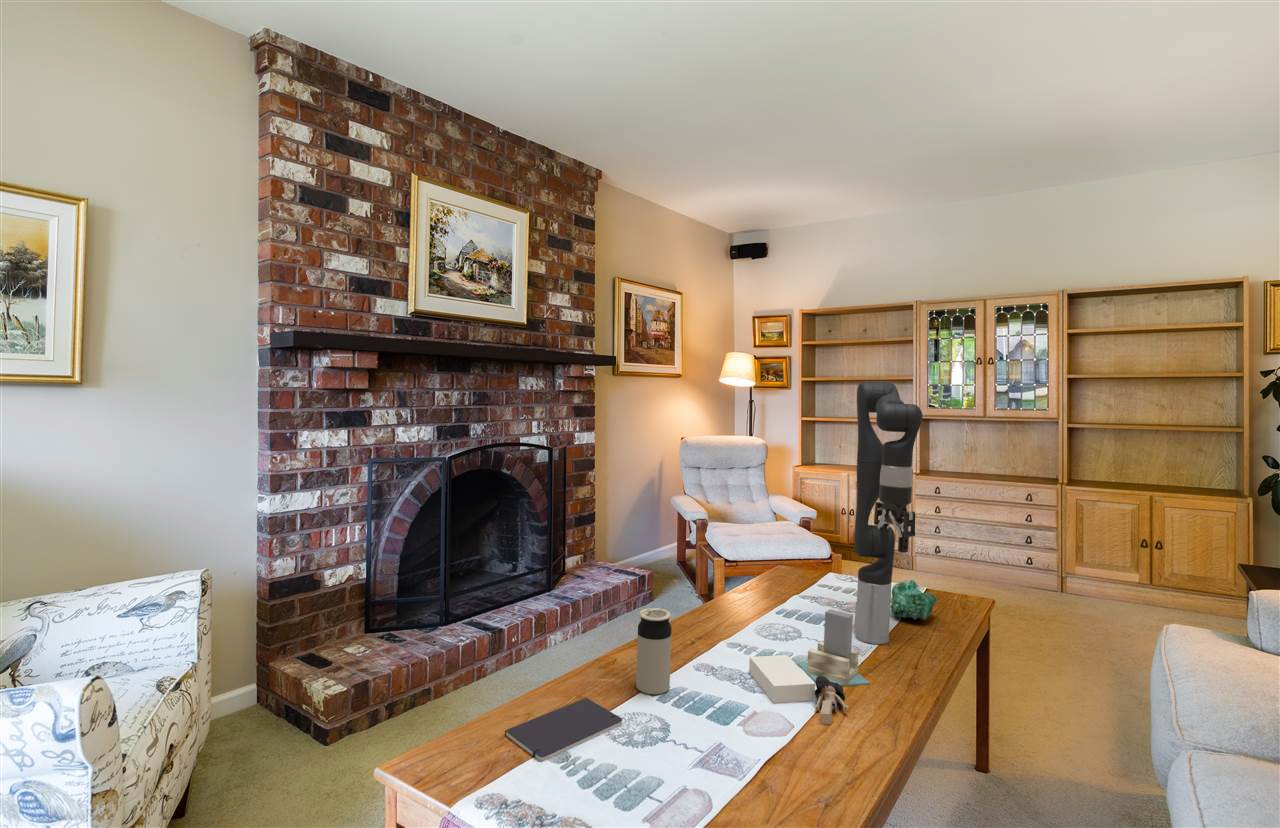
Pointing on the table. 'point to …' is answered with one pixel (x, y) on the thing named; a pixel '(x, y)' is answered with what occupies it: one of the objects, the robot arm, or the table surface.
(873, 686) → the table surface
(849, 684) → the mat
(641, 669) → the travel mug
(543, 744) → the notebook
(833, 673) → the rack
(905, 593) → the mineral
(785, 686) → the cream flat block
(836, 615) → the grey rectangular block
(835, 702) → the toy figure
